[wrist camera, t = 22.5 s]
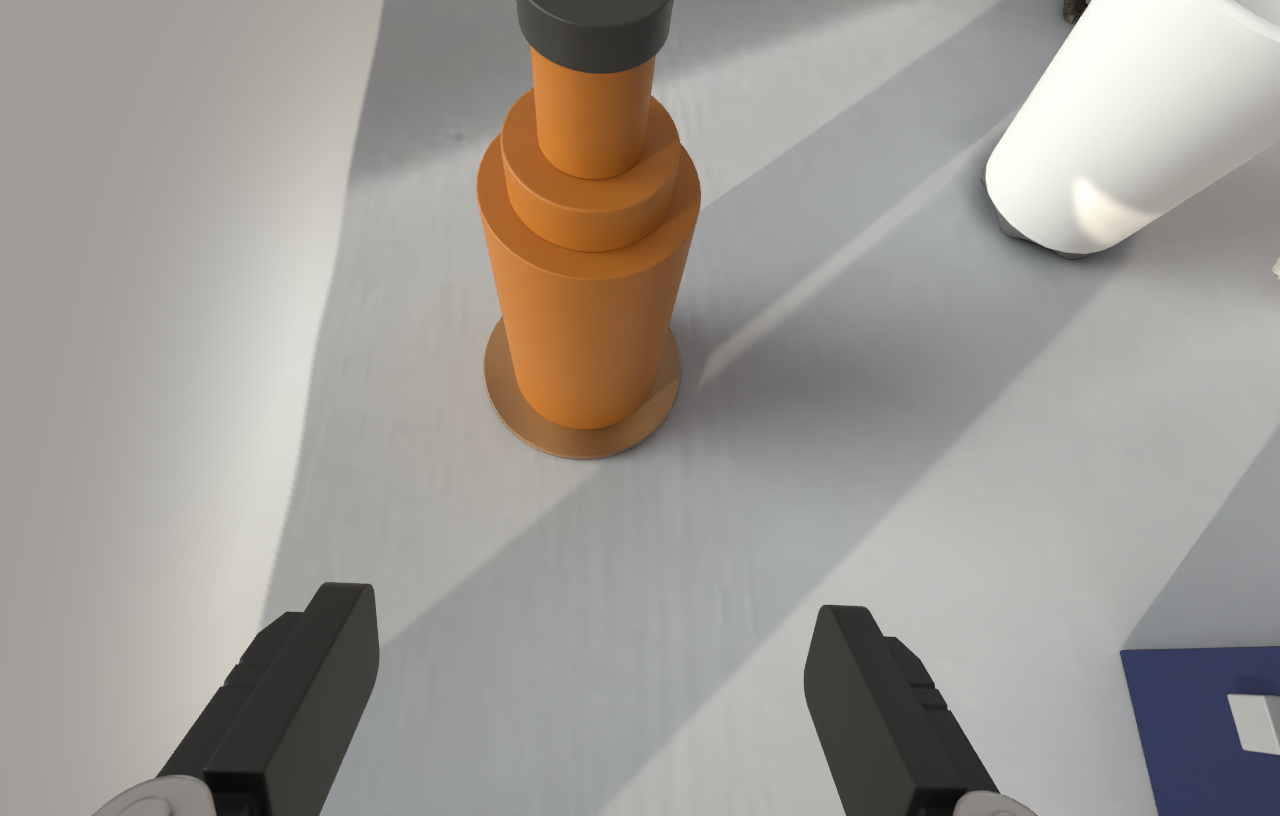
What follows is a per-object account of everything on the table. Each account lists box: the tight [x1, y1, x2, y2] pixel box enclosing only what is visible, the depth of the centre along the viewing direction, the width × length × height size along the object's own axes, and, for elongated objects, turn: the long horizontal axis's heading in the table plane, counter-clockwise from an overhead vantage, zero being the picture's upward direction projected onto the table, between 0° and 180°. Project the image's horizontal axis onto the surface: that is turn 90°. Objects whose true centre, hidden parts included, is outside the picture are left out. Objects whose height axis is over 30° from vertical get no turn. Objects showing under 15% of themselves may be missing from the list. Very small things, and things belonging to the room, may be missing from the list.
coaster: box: [484, 316, 681, 460], centre depth 27 cm, size 8×8×1 cm
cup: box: [981, 0, 1280, 259], centre depth 28 cm, size 10×10×13 cm
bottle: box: [476, 0, 701, 429], centre depth 19 cm, size 6×6×17 cm
